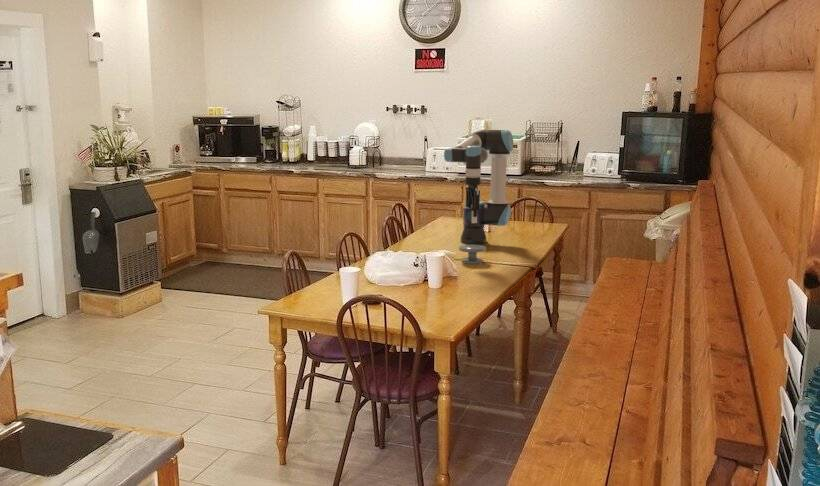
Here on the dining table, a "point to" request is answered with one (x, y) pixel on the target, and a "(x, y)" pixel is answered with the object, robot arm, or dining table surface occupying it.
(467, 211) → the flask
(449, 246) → the dining table surface
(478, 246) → the cake stand
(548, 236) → the dining table surface
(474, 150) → the robot arm
